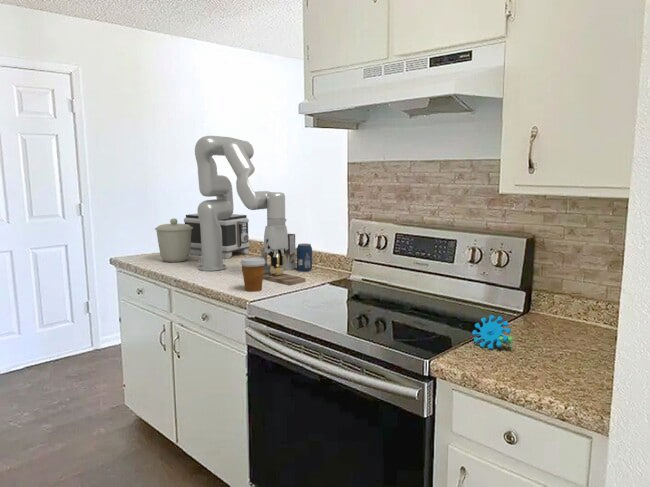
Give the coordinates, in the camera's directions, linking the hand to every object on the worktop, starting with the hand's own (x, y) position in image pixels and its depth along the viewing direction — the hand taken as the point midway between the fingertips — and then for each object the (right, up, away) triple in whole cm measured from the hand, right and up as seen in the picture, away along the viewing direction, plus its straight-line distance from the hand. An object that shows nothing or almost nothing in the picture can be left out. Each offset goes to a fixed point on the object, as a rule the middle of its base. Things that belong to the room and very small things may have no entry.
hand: (276, 265), depth 215 cm
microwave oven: (-36, +3, +59) cm, 69 cm away
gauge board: (0, -6, 0) cm, 6 cm away
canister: (-54, +1, +40) cm, 68 cm away
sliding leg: (-1, -4, 0) cm, 4 cm away
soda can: (+11, -3, +17) cm, 21 cm away
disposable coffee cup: (-7, -9, -18) cm, 22 cm away
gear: (+65, -18, -78) cm, 103 cm away
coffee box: (+2, -3, +22) cm, 22 cm away
